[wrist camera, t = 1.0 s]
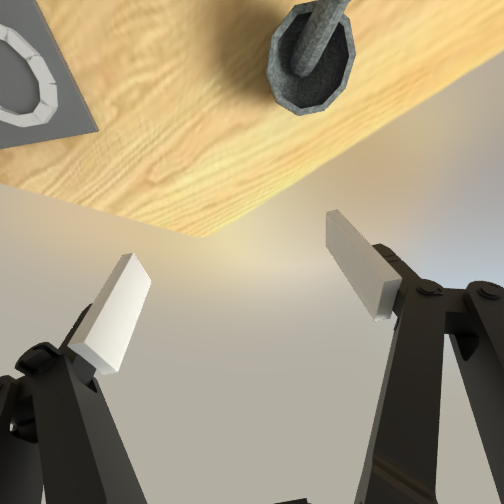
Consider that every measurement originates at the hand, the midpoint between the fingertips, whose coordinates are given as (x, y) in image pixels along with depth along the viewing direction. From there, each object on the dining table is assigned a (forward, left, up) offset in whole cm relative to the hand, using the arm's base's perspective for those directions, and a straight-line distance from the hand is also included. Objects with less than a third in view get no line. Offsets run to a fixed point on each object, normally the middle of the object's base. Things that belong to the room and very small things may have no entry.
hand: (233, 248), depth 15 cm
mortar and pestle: (-10, +11, -25) cm, 30 cm away
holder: (-14, -24, -25) cm, 37 cm away
